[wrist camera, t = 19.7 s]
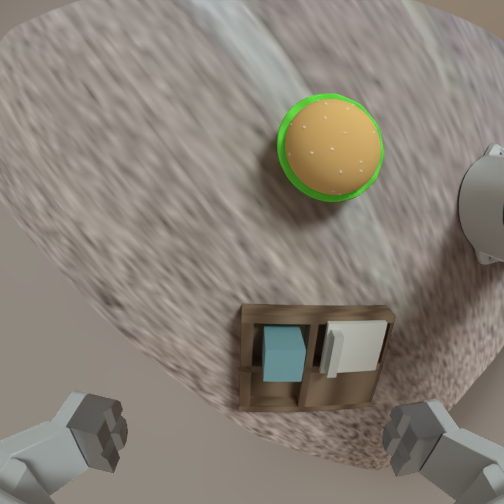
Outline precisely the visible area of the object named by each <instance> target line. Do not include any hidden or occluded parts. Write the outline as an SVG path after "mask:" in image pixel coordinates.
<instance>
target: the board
mask: <svg viewBox="0 0 504 504" xmlns="http://www.w3.org/2000/svg"><path fill="white" fill-rule="evenodd" d="M372 320H386V322H387V327H386V331H385V336H384V340H383V344H382V348H381V351H380V355H379V359H378V362H377V366H376V370H373V371H359V372H342V373H337V375H336V377H334V378H327V376H326V373H320V371H319V368H320V362H321V357H322V351H323V345H324V339H325V333H326V327H327V321H372ZM394 320H395V315H394V314H393V313H392V312H391V311H390V309H389V308H388V307H387V306H386V305H374V306H315V305H268V304H242V319H241V352H240V387H239V411H247V412H304V411H326V410H341V409H352V408H363V407H370V404H371V401H372V398H373V395H374V392H375V389H376V386H377V382H378V379H379V376H380V373H381V369H382V366H383V362H384V359H385V355H386V352H387V348H388V344H389V340H390V336H391V332H392V328H393V324H394ZM263 324H299V327H300V331H301V334H302V338H303V341H304V345H305V348H306V355H305V361H304V368H303V374H302V380H301V382H266V381H263V366H262V338H263Z"/></svg>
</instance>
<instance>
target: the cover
mask: <svg viewBox="0 0 504 504" xmlns="http://www.w3.org/2000/svg"><path fill="white" fill-rule="evenodd" d="M386 327H387V322H386V320H372V321H327V327H326V333H325V339H324V345H323V351H322V357H321V362H320V368H319V371H320V373H326V376H327V378H334V377H336V375H337V373H342V372H359V371H373V370H376V366H377V362H378V359H379V355H380V351H381V348H382V344H383V340H384V336H385V331H386Z"/></svg>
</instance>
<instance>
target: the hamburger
mask: <svg viewBox="0 0 504 504" xmlns="http://www.w3.org/2000/svg"><path fill="white" fill-rule="evenodd" d="M277 154H278V158H279V162H280V164H281V167H282V169H283V171H284V173H285V175H286V176H287V178H288V179H289V180H290V182H291V183H292V184H293V185H294V186H295V187H296V188H297V189H299V190H300V191H301V192H303V193H304V194H306V195H308V196H310V197H312V198H314V199H317V200H321V201H325V202H339V201H345V200H349V199H353V198H355V197H357V196H359V195H360V194H361V193H363V192H364V191H365V190H366V189H367V188H368V187H369V186H370V185H371V184H373V182H374V181H375V180H376V178H377V176H378V173H379V170H380V167H381V164H382V161H383V157H384V148H383V143H382V138H381V133H380V129H379V126H378V125H377V123H376V122H375V121H374V119H373V118H372V117H371V116H370V114H369V113H368V112H367V111H366V109H365V108H364V107H363V106H362V105H361V104H359V103H357V102H355V101H353V100H351V99H348V98H346V97H343V96H341V95H338V94H319V95H313V96H310V97H307V98H305V99H303V100H301V101H300V102H298V103H297V104H296V105H295V106H293V107H292V108H291V109H290V110H289V111H288V113H287V114H286V115H285V117H284V119H283V121H282V123H281V125H280V127H279V131H278V136H277Z"/></svg>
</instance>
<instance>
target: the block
mask: <svg viewBox="0 0 504 504" xmlns="http://www.w3.org/2000/svg"><path fill="white" fill-rule="evenodd" d="M305 355H306V348H305V345H304V341H303V338H302V334H301V331H300V327H299V324H263V338H262V366H263V381H266V382H301V380H302V374H303V368H304V361H305Z"/></svg>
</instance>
